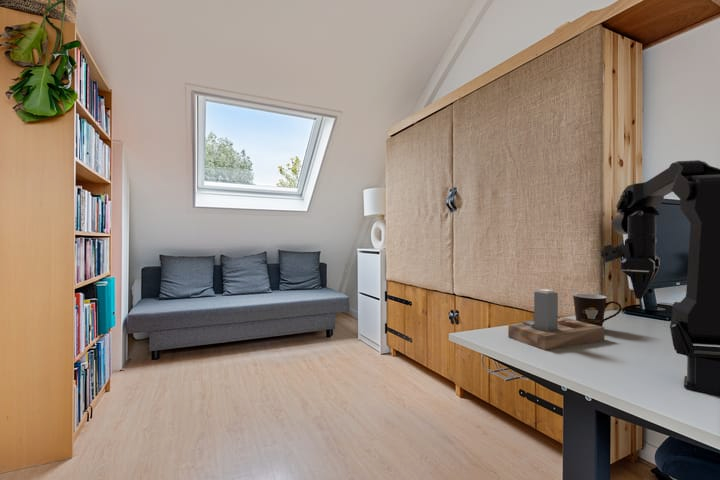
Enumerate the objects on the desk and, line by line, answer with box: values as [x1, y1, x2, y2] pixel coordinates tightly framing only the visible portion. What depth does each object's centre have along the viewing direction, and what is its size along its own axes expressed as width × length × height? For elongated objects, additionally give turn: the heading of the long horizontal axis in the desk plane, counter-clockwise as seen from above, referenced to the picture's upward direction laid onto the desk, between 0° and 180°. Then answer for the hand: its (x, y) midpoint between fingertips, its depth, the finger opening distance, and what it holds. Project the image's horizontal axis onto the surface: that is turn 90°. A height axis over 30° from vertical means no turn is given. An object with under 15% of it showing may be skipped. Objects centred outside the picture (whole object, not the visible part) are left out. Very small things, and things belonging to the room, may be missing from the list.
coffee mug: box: [572, 293, 622, 327], centre depth 109 cm, size 12×9×10 cm
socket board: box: [507, 317, 605, 351], centre depth 100 cm, size 12×22×4 cm, turn 112°
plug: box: [533, 288, 559, 332], centre depth 97 cm, size 4×4×14 cm
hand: (640, 296), depth 92 cm, fingers open, 9 cm apart
